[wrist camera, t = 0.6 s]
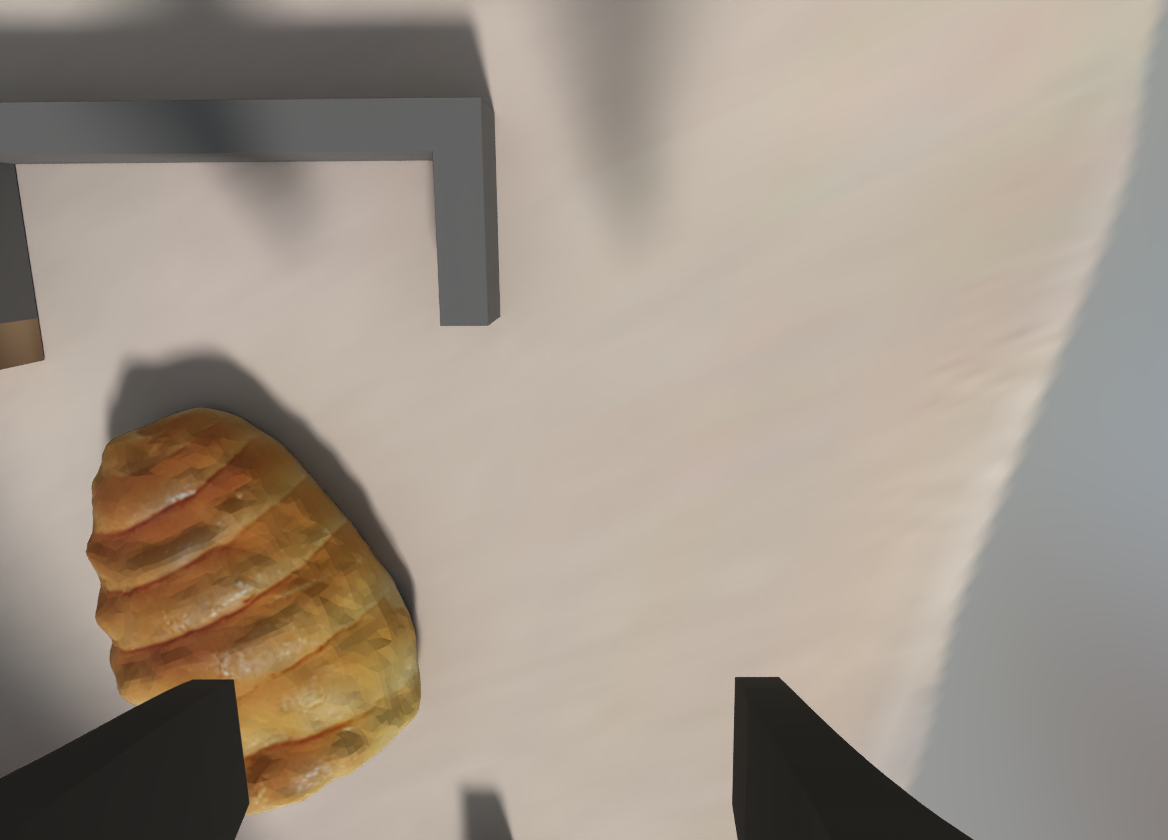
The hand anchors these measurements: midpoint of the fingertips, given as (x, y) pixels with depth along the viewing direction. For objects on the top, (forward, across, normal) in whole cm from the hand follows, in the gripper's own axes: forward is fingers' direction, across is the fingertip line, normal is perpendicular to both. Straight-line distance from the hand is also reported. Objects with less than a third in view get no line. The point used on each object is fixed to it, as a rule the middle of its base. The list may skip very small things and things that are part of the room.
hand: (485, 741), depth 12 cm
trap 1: (+9, +7, -8) cm, 13 cm away
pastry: (+9, +7, +2) cm, 12 cm away
